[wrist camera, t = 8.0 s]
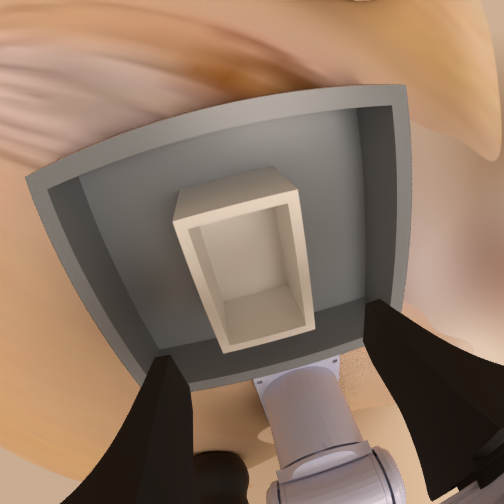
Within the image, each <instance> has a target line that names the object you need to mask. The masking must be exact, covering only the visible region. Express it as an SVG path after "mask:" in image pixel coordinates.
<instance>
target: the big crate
mask: <svg viewBox="0 0 504 504" xmlns="http://www.w3.org/2000/svg"><path fill="white" fill-rule="evenodd" d="M270 166H274V167H275V168H276V169H277V170H278V171H279V172H280V173H282V174H283V175H284V176H285V177H286V178H287V179H288V180H289V181H290V182H291V183H292V184H293V185H294V186H295V187H296V188H297V189H298V194H299V201H300V207H301V214H302V221H303V228H304V235H305V242H306V250H307V258H308V266H309V274H310V283H311V292H312V301H313V310H314V320H315V329H314V330H311V331H307V332H304V333H301V334H297V335H294V336H290V337H287V338H283V339H279V340H276V341H272V342H268V343H264V344H261V345H257V346H253V347H249V348H245V349H241V350H236V351H232V352H228V353H224V354H223V352H222V349H221V347H220V345H219V342H218V340H217V337H216V335H215V333H214V330H213V328H212V325H211V323H210V321H209V318H208V316H207V313H206V311H205V308H204V306H203V303H202V301H201V298H200V295H199V293H198V290H197V288H196V285H195V283H194V280H193V277H192V275H191V272H190V269H189V267H188V264H187V261H186V259H185V256H184V253H183V250H182V248H181V245H180V242H179V239H178V236H177V234H176V231H175V228H174V225H173V222H172V221H173V216H174V212H175V208H176V204H177V200H178V196H179V192H180V190H181V189H184V188H188V187H191V186H195V185H198V184H202V183H206V182H209V181H213V180H217V179H221V178H225V177H229V176H232V175H236V174H241V173H245V172H249V171H253V170H257V169H262V168H266V167H270ZM25 179H26V182H27V185H28V188H29V190H30V193H31V196H32V198H33V201H34V204H35V206H36V209H37V211H38V213H39V216H40V218H41V221H42V223H43V225H44V228H45V230H46V232H47V234H48V237H49V239H50V241H51V243H52V245H53V247H54V249H55V251H56V254H57V256H58V258H59V260H60V262H61V264H62V266H63V267H64V269H65V271H66V273H67V275H68V277H69V279H70V281H71V283H72V284H73V286H74V288H75V290H76V292H77V293H78V295H79V297H80V299H81V300H82V302H83V304H84V305H85V307H86V309H87V310H88V312H89V314H90V315H91V317H92V319H93V320H94V322H95V323H96V325H97V327H98V328H99V330H100V331H101V333H102V334H103V336H104V337H105V339H106V340H107V342H108V343H109V345H110V346H111V348H112V349H113V351H114V352H115V353H116V355H117V356H118V358H119V359H120V360H121V362H122V363H123V365H124V366H125V367H126V369H127V370H128V371H129V373H130V374H131V375H132V377H133V378H134V379H135V381H136V382H137V383H138V385H139V386H140V387H141V386H142V384H143V382H144V380H145V378H146V375H147V373H148V371H149V369H150V366H151V364H152V362H153V360H154V358H155V357H159V356H165V355H171V357H172V358H173V360H174V362H175V363H176V365H177V367H178V368H179V370H180V372H181V373H182V375H183V377H184V378H185V380H186V381H187V383H188V385H189V386H190V392H193V391H198V390H204V389H209V388H215V387H220V386H225V385H229V384H234V383H239V382H243V381H248V380H252V379H256V378H260V377H264V376H268V375H272V374H276V373H280V372H284V371H287V370H291V369H295V368H298V367H302V366H305V365H308V364H312V363H315V362H318V361H322V360H325V359H328V358H331V357H334V356H337V355H340V354H343V353H346V352H349V351H352V350H355V349H358V348H360V347H363V346H365V345H364V343H363V331H364V317H365V304H366V303H369V302H372V301H375V300H378V299H381V300H382V301H384V302H385V303H387V304H388V305H390V306H391V307H393V308H394V309H396V310H397V311H398V312H400V313H401V311H402V304H403V297H404V291H405V283H406V275H407V266H408V255H409V244H410V231H411V210H412V209H411V208H412V151H411V132H410V118H409V107H408V98H407V89H406V85H400V84H360V85H343V86H331V87H320V88H311V89H302V90H294V91H287V92H280V93H274V94H268V95H262V96H256V97H251V98H246V99H241V100H236V101H231V102H226V103H222V104H218V105H213V106H209V107H205V108H201V109H197V110H193V111H190V112H186V113H182V114H179V115H175V116H172V117H168V118H165V119H162V120H158V121H155V122H152V123H149V124H146V125H143V126H140V127H137V128H134V129H131V130H128V131H126V132H123V133H120V134H117V135H115V136H112V137H109V138H107V139H104V140H102V141H99V142H97V143H94V144H92V145H89V146H87V147H85V148H82V149H80V150H78V151H75V152H73V153H71V154H69V155H66V156H64V157H62V158H60V159H58V160H56V161H54V162H52V163H50V164H48V165H46V166H44V167H43V168H41V169H39V170H37V171H35V172H33V173H31V174H30V175H28V176H26V177H25Z"/></svg>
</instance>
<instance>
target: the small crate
mask: <svg viewBox="0 0 504 504" xmlns="http://www.w3.org/2000/svg"><path fill="white" fill-rule="evenodd" d="M172 222H173V225H174V228H175V231H176V234H177V236H178V239H179V242H180V245H181V248H182V250H183V253H184V256H185V259H186V261H187V264H188V267H189V269H190V272H191V275H192V277H193V280H194V283H195V285H196V288H197V290H198V293H199V295H200V298H201V301H202V303H203V306H204V308H205V311H206V313H207V316H208V318H209V321H210V323H211V325H212V328H213V330H214V333H215V335H216V337H217V340H218V342H219V345H220V347H221V349H222V352H223V354H224V353H228V352H232V351H236V350H241V349H245V348H249V347H253V346H257V345H261V344H264V343H268V342H272V341H276V340H279V339H283V338H287V337H290V336H294V335H297V334H301V333H304V332H307V331H311V330H314V329H315V320H314V310H313V301H312V292H311V283H310V274H309V266H308V258H307V250H306V242H305V235H304V228H303V221H302V214H301V207H300V201H299V194H298V189H297V188H296V187H295V186H294V185H293V184H292V183H291V182H290V181H289V180H288V179H287V178H286V177H285V176H284V175H283V174H282V173H280V172H279V171H278V170H277V169H276V168H275V167H274V166H270V167H266V168H262V169H257V170H253V171H249V172H245V173H241V174H236V175H232V176H229V177H225V178H221V179H217V180H213V181H209V182H206V183H202V184H198V185H195V186H191V187H188V188H184V189H181V190H180V192H179V196H178V200H177V204H176V208H175V212H174V216H173V221H172Z"/></svg>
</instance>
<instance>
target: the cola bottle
mask: <svg viewBox="0 0 504 504" xmlns="http://www.w3.org/2000/svg"><path fill="white" fill-rule="evenodd" d="M193 462H194V473H195V479H196V485H197V491H198V496H199V501H200V504H249V503H248V500H247V489H248V485H249V474H248V470H247V468H246V466H245V464H244V462H243V461H242V459H241V458H239V457H238V456H236V455H234V454H230V453H225V452H210V453H204V454H201V455H198V456H196V457H194V458H193Z"/></svg>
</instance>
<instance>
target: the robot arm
mask: <svg viewBox="0 0 504 504" xmlns="http://www.w3.org/2000/svg"><path fill="white" fill-rule="evenodd" d="M363 343H364V345H365V347H366V350H367V352H368V354H369V357H370V359H371V361H372V363H373V365H374V367H375V368H376V370H377V372H378V373H379V375H380V377H381V378H382V380H383V382H384V383H385V385H386V387H387V388H388V390H389V392H390V393H391V395H392V397H393V399H394V400H395V402H396V404H397V405H398V407H399V409H400V411H401V413H402V415H403V418H404V420H405V422H406V425H407V427H408V429H409V432H410V434H411V437H412V440H413V443H414V446H415V448H416V451H417V454H418V457H419V460H420V464H421V467H422V471H423V475H424V479H425V483H426V487H427V492H428V495H429V498H430V500H431V501H434V500H436V499H437V498H439V497H441V496H442V495H444V494H446V493H447V492H449V491H451V490H452V489H454V488H455V487H457V488H458V490H459V492H458V493H456V494H455V495H453V496H452V497H450V498H448V499H447V500H445V501H443V502H442V503H440V504H504V366H503V365H500V364H496V363H493V362H491V361H488V360H485V359H482V358H480V357H477V356H475V355H473V354H470V353H468V352H466V351H464V350H462V349H460V348H457V347H455V346H454V345H452V344H450V343H448V342H446V341H444V340H443V339H441V338H439V337H437V336H436V335H434V334H432V333H431V332H429V331H427V330H426V329H424V328H423V327H421V326H419V325H418V324H416V323H415V322H413V321H412V320H410V319H409V318H407V317H406V316H404V315H403V314H401V313H400V312H398V311H397V310H396V309H394V308H393V307H391V306H390V305H388V304H387V303H385V302H384V301H382V300H381V299H378V300H375V301H372V302H369V303H366V304H365V317H364V331H363ZM339 368H340V355H337V356H334V357H331V358H328V359H325V360H322V361H318V362H315V363H312V364H308V365H305V366H302V367H298V368H295V369H291V370H287V371H284V372H280V373H276V374H272V375H268V376H264V377H260V378H256V379H253V382H254V384H255V387H256V390H257V393H258V395H259V398H260V401H261V404H262V406H263V409H264V412H265V414H266V417H267V420H268V422H270V427H271V431H272V435H273V439H274V444H275V448H276V452H277V456H278V460H279V464H280V468H281V470H279V471H276V473H277V477H278V480H277V481H274V482H272V483H271V485H270V487H269V489H268V490H267V494H266V502H267V504H406V499H405V498H406V491H405V486H404V482H403V479H402V477H401V474H400V471H399V469H398V467H397V465H396V463H395V461H394V459H393V457H392V456H391V454H390V453H389V452H388V451H387V450H386V449H383V448H380V447H379V446H375V447H373V448H371V447H370V445H369V443H368V441H367V440H366V441H363V438H362V436H361V434H360V431H359V429H358V427H357V424H356V422H355V420H354V417H353V415H352V413H351V410H350V408H349V406H348V403H347V401H346V399H345V397H344V394H343V392H342V390H341V387H340V385H339ZM60 504H200V501H199V496H198V491H197V485H196V479H195V473H194V462H193V409H192V401H191V393H190V386H189V385H188V383H187V381H186V380H185V378H184V377H183V375H182V373H181V372H180V370H179V368H178V367H177V365H176V363H175V362H174V360H173V358H172V357H171V355H165V356H159V357H155V358H154V360H153V362H152V364H151V366H150V369H149V371H148V373H147V375H146V378H145V380H144V382H143V384H142V386H141V389H140V391H139V393H138V395H137V397H136V399H135V401H134V403H133V406H132V408H131V410H130V412H129V414H128V415H127V417H126V419H125V421H124V423H123V425H122V427H121V429H120V430H119V432H118V434H117V436H116V437H115V439H114V440H113V442H112V444H111V445H110V447H109V448H108V450H107V451H106V453H105V454H104V456H103V457H102V458H101V460H100V461H99V462H98V464H97V465H96V466H95V468H94V469H93V470H92V472H91V473H90V474H89V475H88V476H87V477H86V478H85V480H84V481H83V482H82V483H81V484H80V485H79V486H78V487H77V488H76V490H74V491H73V492H72V493H71V494H70V495H69V496H68V497H67V498H66V499H65V500H64V501H63V502H61V503H60Z"/></svg>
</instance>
